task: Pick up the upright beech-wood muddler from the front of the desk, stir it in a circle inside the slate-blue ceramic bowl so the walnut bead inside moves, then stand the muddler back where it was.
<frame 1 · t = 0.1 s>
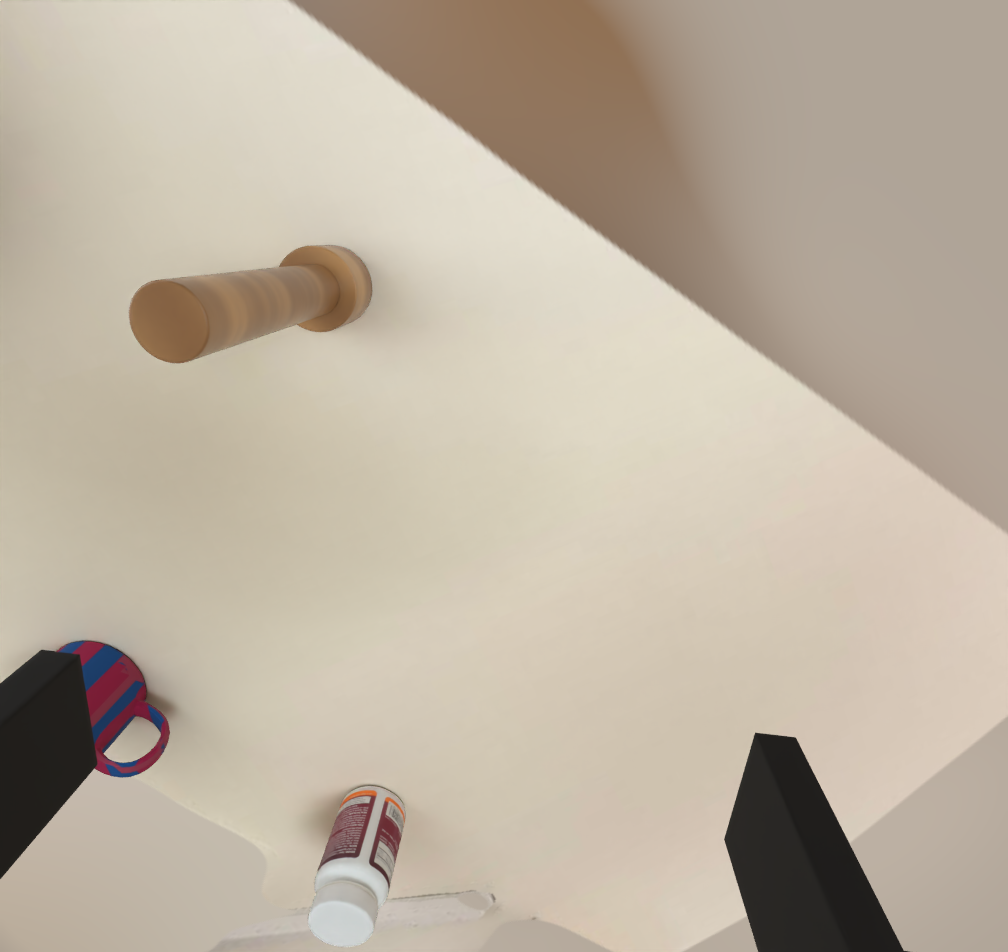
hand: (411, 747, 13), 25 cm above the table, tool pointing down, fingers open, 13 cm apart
muddler: (334, 285, 34), on the table
pill bottle: (375, 807, 46), on the table
mug: (124, 688, 44), on the table
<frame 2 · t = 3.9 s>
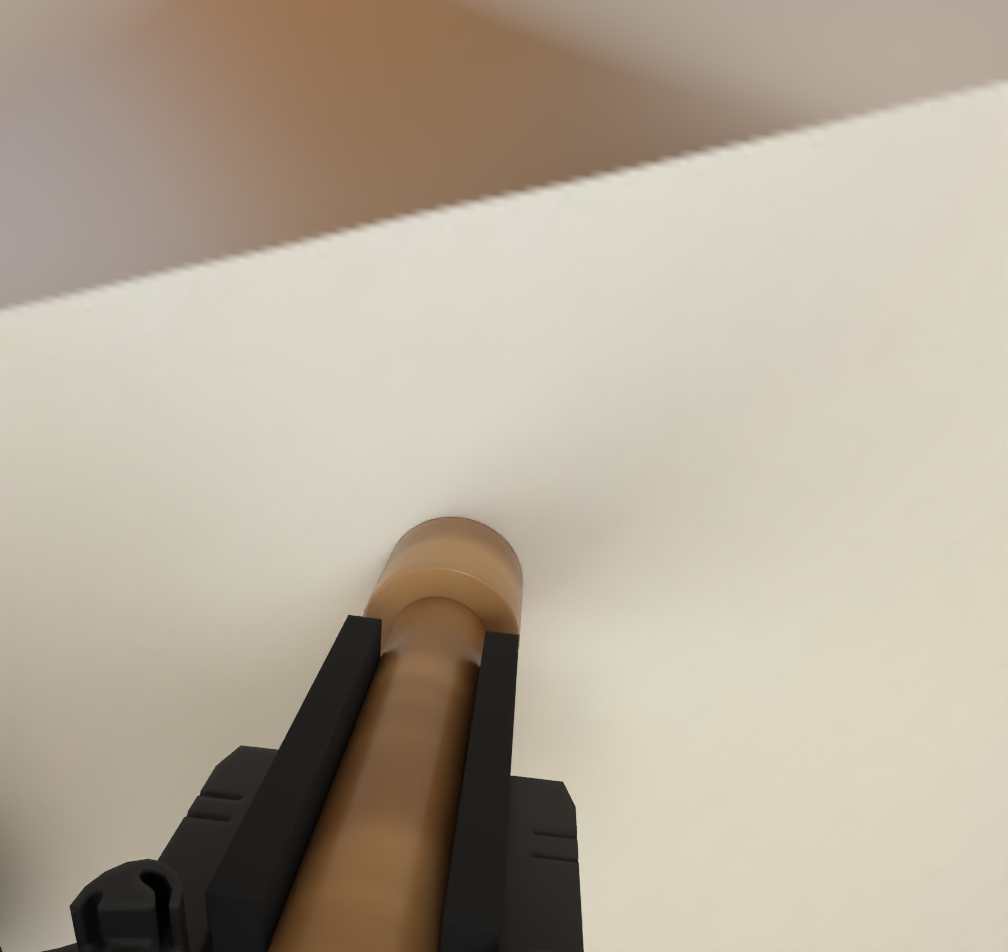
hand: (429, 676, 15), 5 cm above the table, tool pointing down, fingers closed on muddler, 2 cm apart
muddler: (455, 578, 19), on the table, touching gripper
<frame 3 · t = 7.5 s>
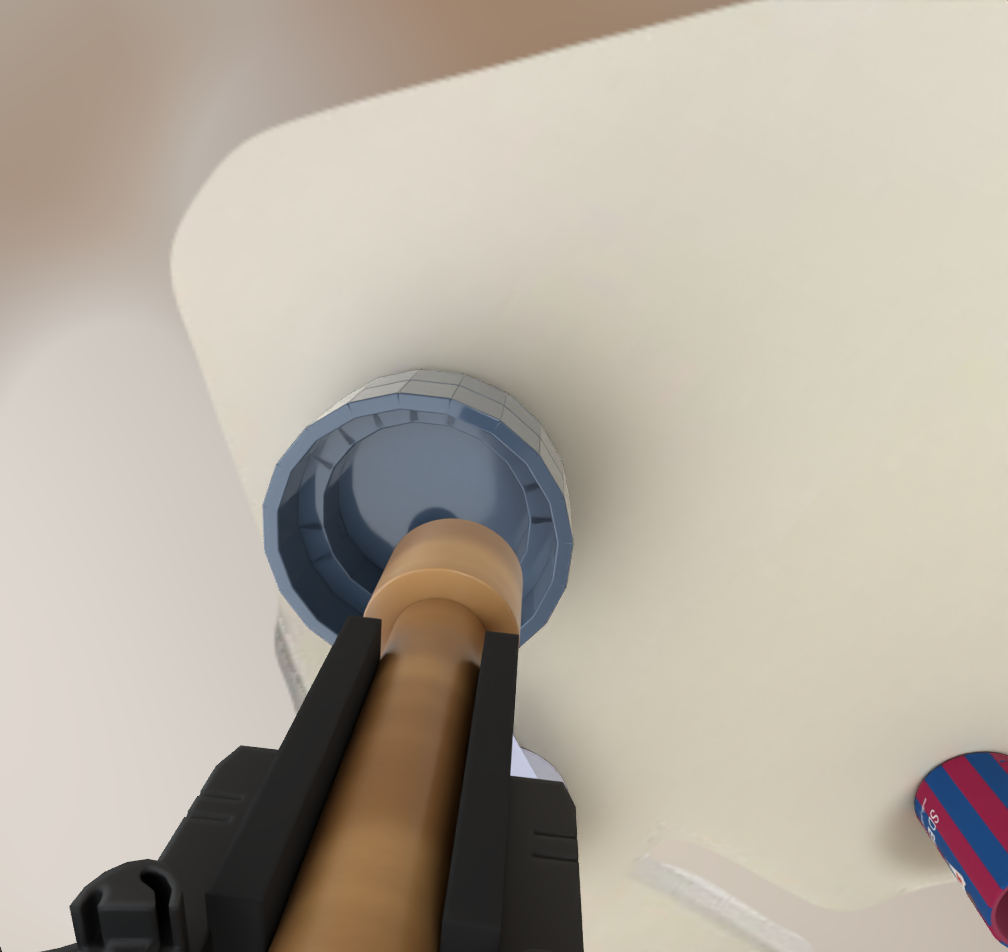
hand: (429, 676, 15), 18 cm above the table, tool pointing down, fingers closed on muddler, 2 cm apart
muddler: (455, 579, 19), point 14 cm above the table, touching gripper
mug: (1001, 785, 37), on the table
bowl: (435, 498, 33), on the table
wedge on round base: (482, 775, 39), on the table
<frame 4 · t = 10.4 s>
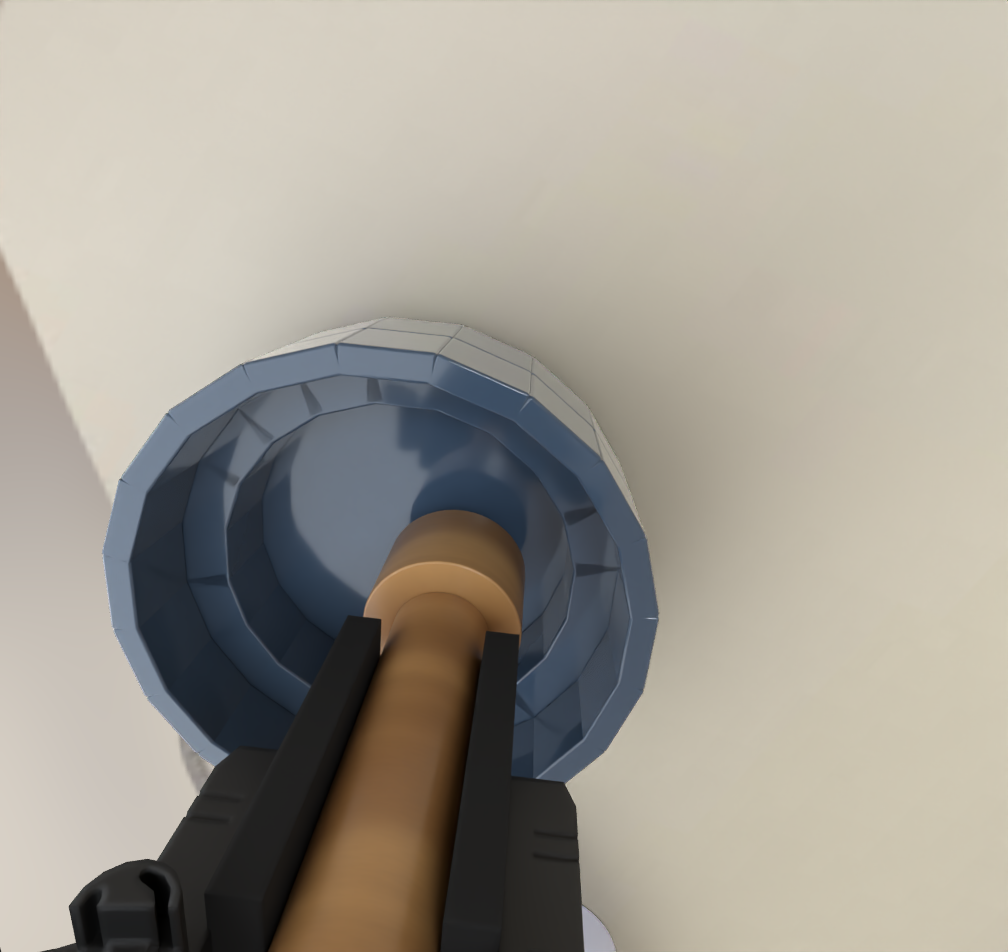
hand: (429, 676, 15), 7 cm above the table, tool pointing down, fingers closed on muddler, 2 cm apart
muddler: (456, 570, 19), point 2 cm above the table, touching bead, gripper
bowl: (417, 529, 21), on the table
wedge on round base: (491, 923, 27), on the table
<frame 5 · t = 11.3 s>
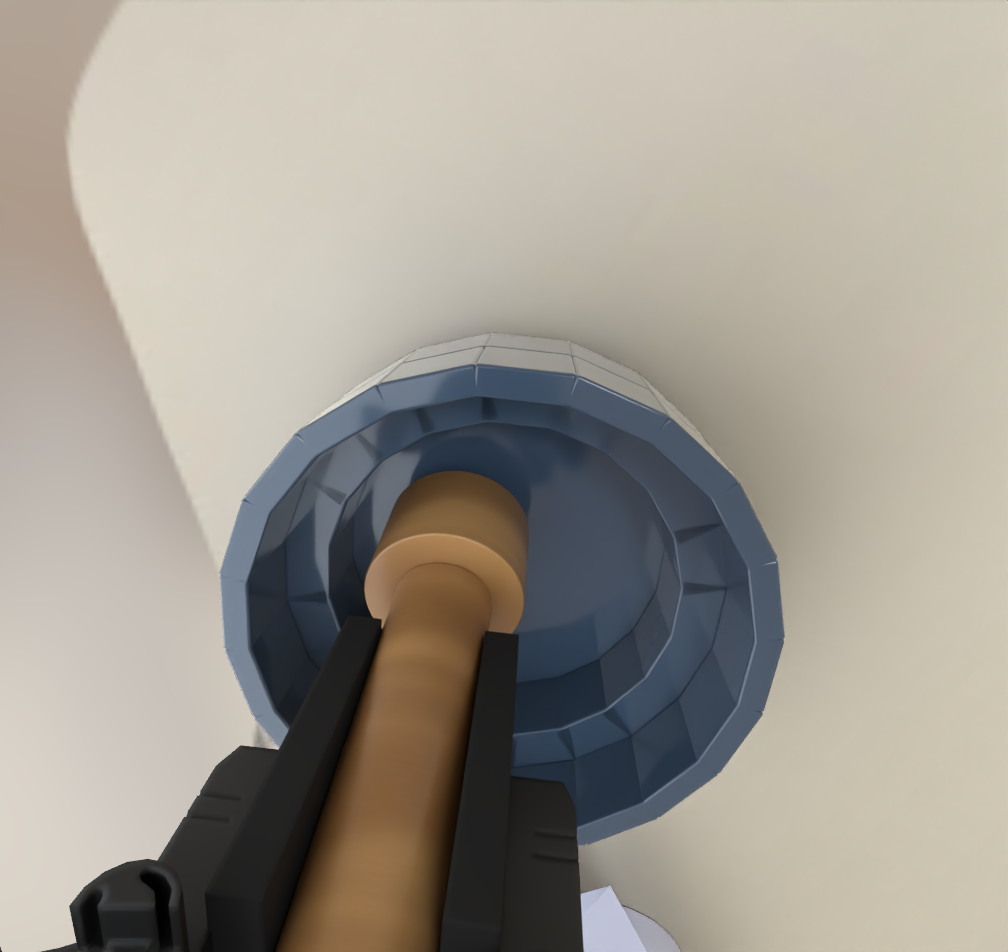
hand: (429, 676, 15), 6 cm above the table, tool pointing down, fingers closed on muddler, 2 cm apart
muddler: (459, 530, 18), point 2 cm above the table, tilted 10°, touching gripper
bowl: (507, 544, 21), on the table
wedge on round base: (559, 938, 27), on the table
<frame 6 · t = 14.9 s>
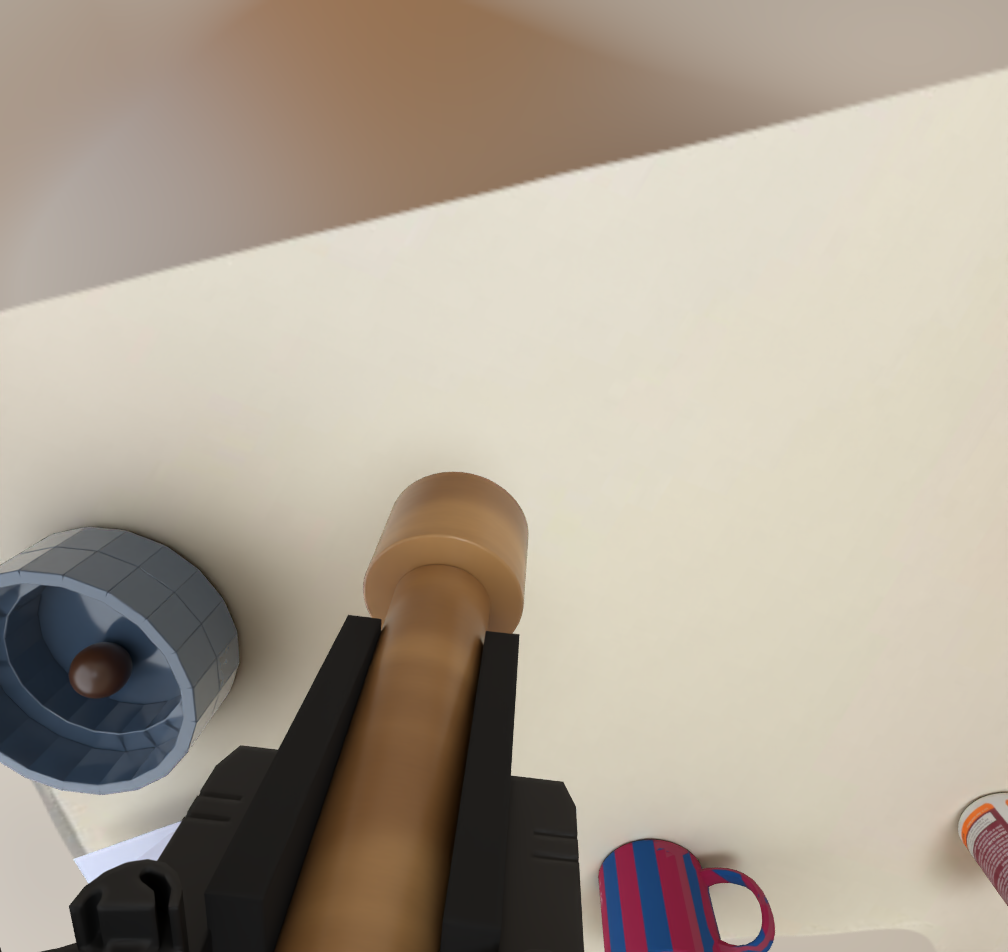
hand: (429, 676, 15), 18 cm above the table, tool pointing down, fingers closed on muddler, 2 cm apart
bead: (101, 669, 36), point 2 cm above the table, tilted 59°, touching bowl
muddler: (458, 531, 18), point 14 cm above the table, tilted 10°, touching gripper
pill bottle: (995, 817, 39), on the table
mug: (674, 867, 41), on the table
bowl: (129, 628, 37), on the table
wedge on round base: (220, 859, 44), on the table
when the fingers open (5 cm above the table, at t = 18.4 s): muddler stays where it is, on the table.
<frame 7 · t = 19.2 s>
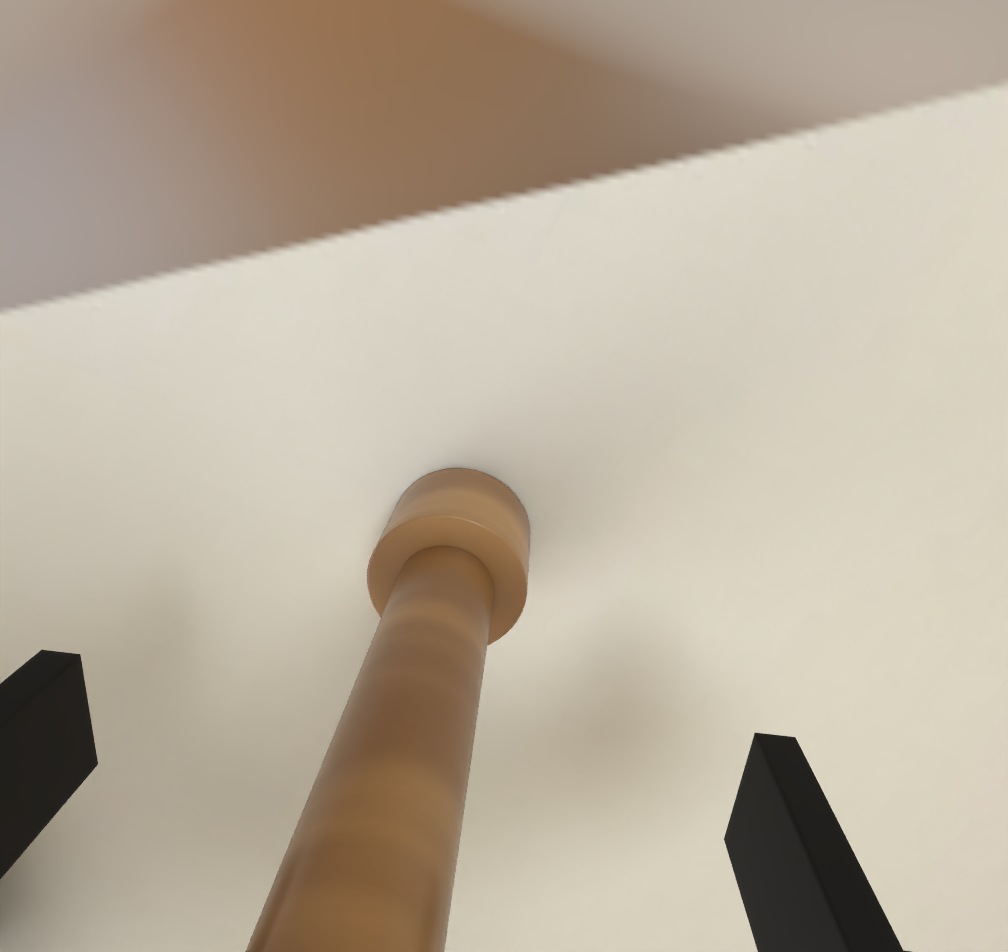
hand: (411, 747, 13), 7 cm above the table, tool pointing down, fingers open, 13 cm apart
muddler: (461, 531, 19), on the table
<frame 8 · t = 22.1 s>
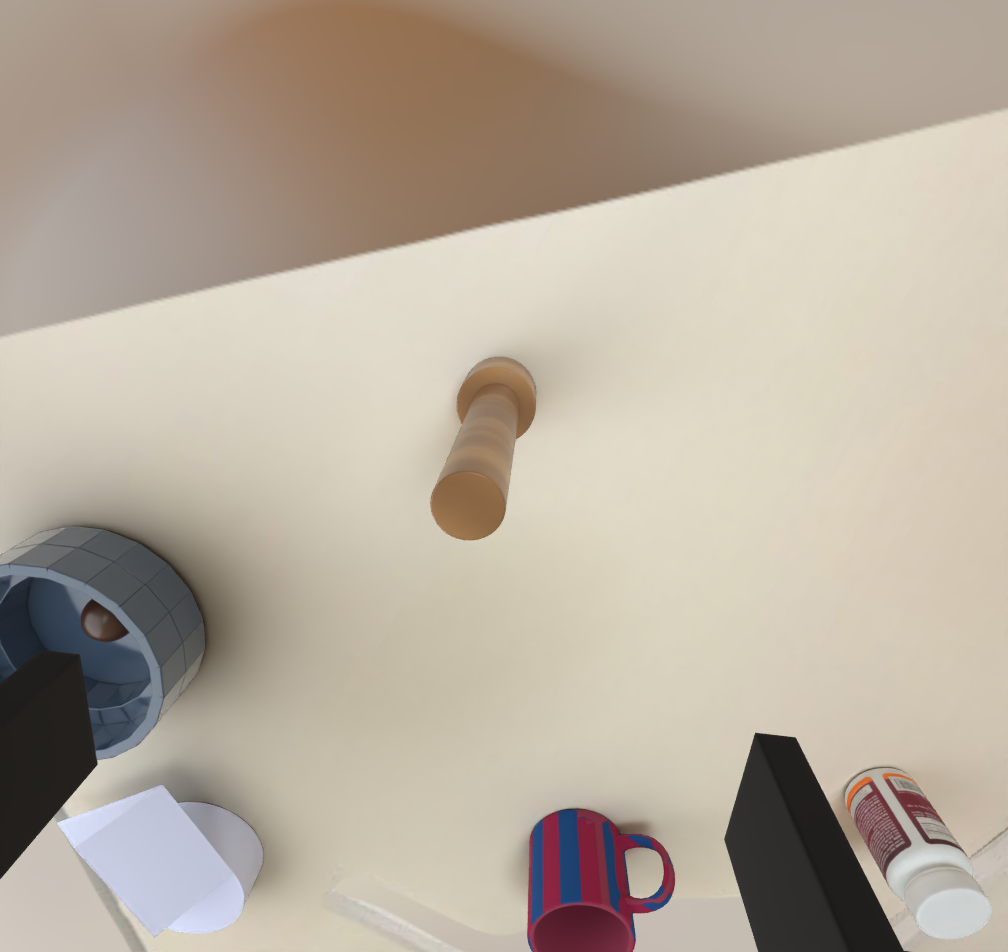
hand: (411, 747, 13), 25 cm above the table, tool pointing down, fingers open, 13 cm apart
bead: (109, 616, 39), point 2 cm above the table, tilted 164°, touching bowl
muddler: (499, 393, 35), on the table
pill bottle: (878, 790, 43), on the table
mug: (597, 835, 46), on the table
bowl: (108, 616, 42), on the table
wedge on round base: (191, 826, 48), on the table
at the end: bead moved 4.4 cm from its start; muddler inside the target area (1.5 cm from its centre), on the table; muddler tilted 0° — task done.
